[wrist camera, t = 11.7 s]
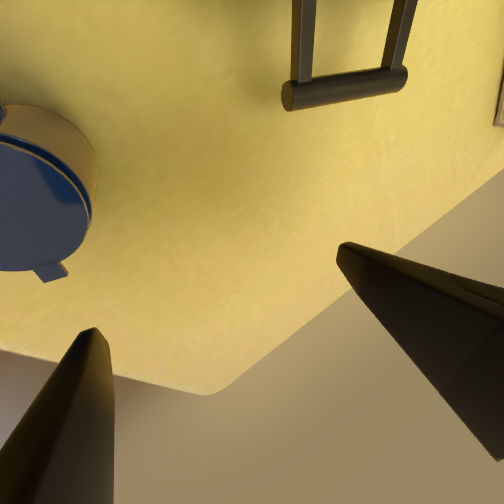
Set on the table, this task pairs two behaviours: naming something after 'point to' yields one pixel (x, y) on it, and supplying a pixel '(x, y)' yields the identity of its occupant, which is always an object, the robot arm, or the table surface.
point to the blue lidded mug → (43, 190)
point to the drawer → (347, 83)
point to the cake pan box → (500, 111)
